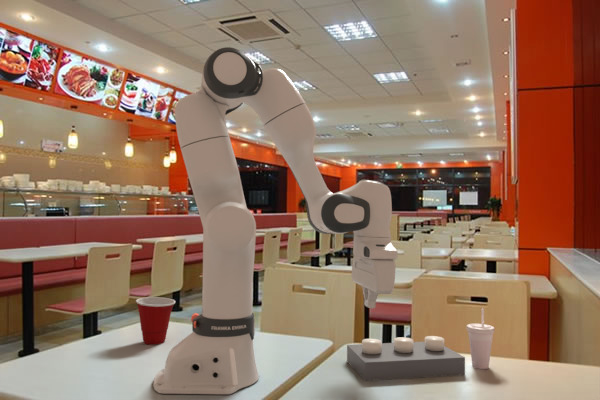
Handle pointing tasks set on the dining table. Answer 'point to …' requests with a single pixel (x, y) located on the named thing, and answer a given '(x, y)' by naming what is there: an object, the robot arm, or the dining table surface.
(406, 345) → the knob middle
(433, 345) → the knob
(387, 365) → the console
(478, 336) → the smoothie
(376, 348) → the knob
